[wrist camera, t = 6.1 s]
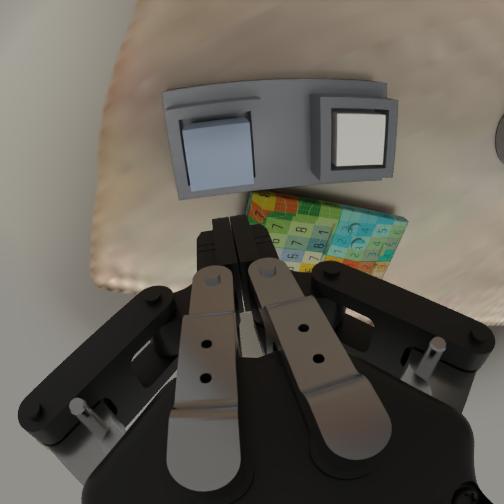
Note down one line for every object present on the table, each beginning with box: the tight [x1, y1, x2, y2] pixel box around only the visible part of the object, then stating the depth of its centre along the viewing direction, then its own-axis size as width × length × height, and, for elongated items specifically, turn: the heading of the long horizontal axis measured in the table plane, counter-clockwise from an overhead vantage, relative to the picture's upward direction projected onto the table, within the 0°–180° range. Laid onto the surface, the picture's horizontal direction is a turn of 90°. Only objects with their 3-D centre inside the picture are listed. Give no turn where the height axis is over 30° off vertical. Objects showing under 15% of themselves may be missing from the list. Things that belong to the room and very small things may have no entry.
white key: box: [331, 109, 386, 166], centre depth 27 cm, size 5×5×3 cm
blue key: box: [182, 117, 254, 192], centre depth 24 cm, size 5×5×3 cm
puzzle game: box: [245, 190, 408, 279], centre depth 37 cm, size 12×5×20 cm
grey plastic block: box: [162, 78, 398, 200], centre depth 28 cm, size 22×11×6 cm, turn 94°
